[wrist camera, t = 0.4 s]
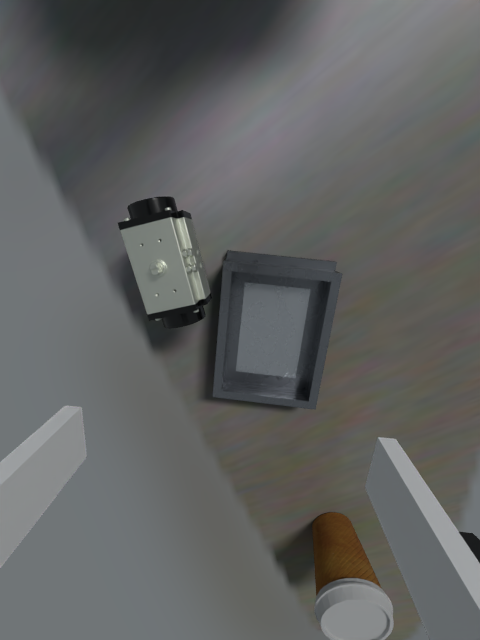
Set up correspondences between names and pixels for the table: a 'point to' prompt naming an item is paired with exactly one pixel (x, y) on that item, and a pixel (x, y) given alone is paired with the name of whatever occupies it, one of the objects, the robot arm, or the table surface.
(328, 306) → the rectangular open-top bin
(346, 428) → the table surface
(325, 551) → the disposable coffee cup
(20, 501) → the robot arm
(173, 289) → the pneumatic valve
